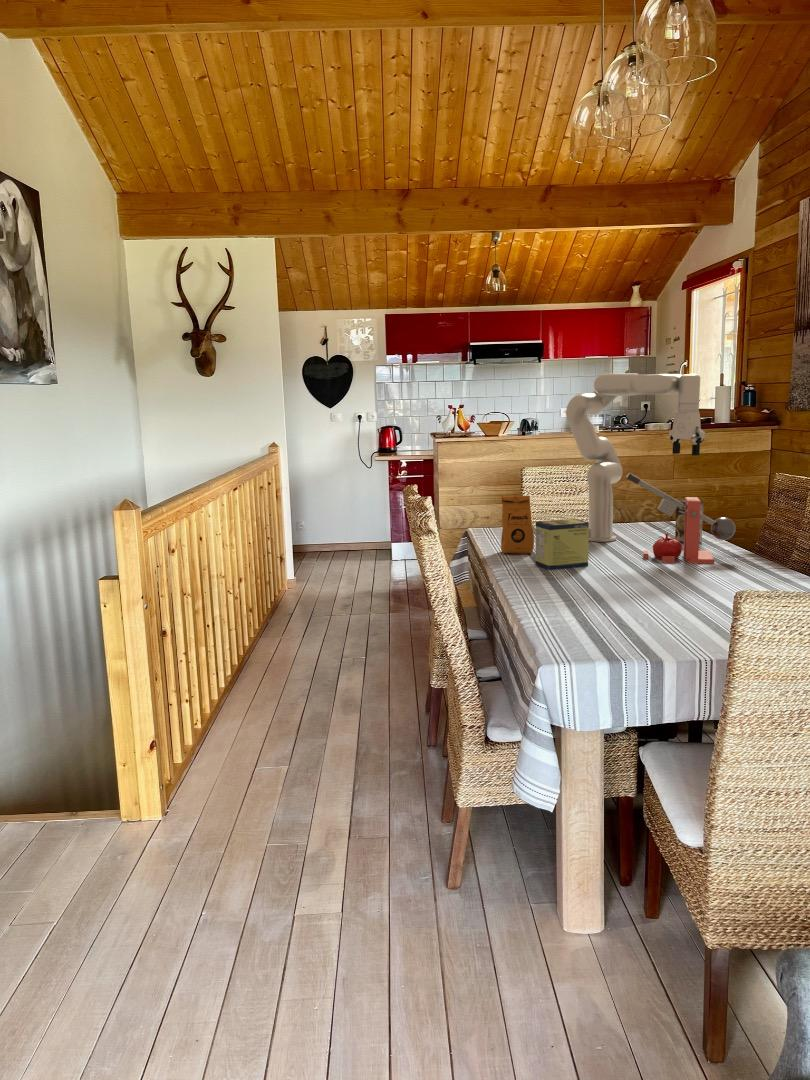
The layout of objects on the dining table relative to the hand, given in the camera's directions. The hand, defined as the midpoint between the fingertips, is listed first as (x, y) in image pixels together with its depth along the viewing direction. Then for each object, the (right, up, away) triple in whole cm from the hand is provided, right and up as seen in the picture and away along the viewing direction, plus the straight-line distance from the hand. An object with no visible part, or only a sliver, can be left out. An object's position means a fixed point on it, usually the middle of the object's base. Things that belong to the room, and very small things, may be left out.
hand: (685, 454), depth 295 cm
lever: (-10, -24, -15) cm, 30 cm away
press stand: (-8, -39, -13) cm, 42 cm away
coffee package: (-62, -37, +5) cm, 73 cm away
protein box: (-50, -41, -19) cm, 68 cm away
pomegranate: (-11, -39, -13) cm, 42 cm away
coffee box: (+8, -33, +19) cm, 39 cm away
